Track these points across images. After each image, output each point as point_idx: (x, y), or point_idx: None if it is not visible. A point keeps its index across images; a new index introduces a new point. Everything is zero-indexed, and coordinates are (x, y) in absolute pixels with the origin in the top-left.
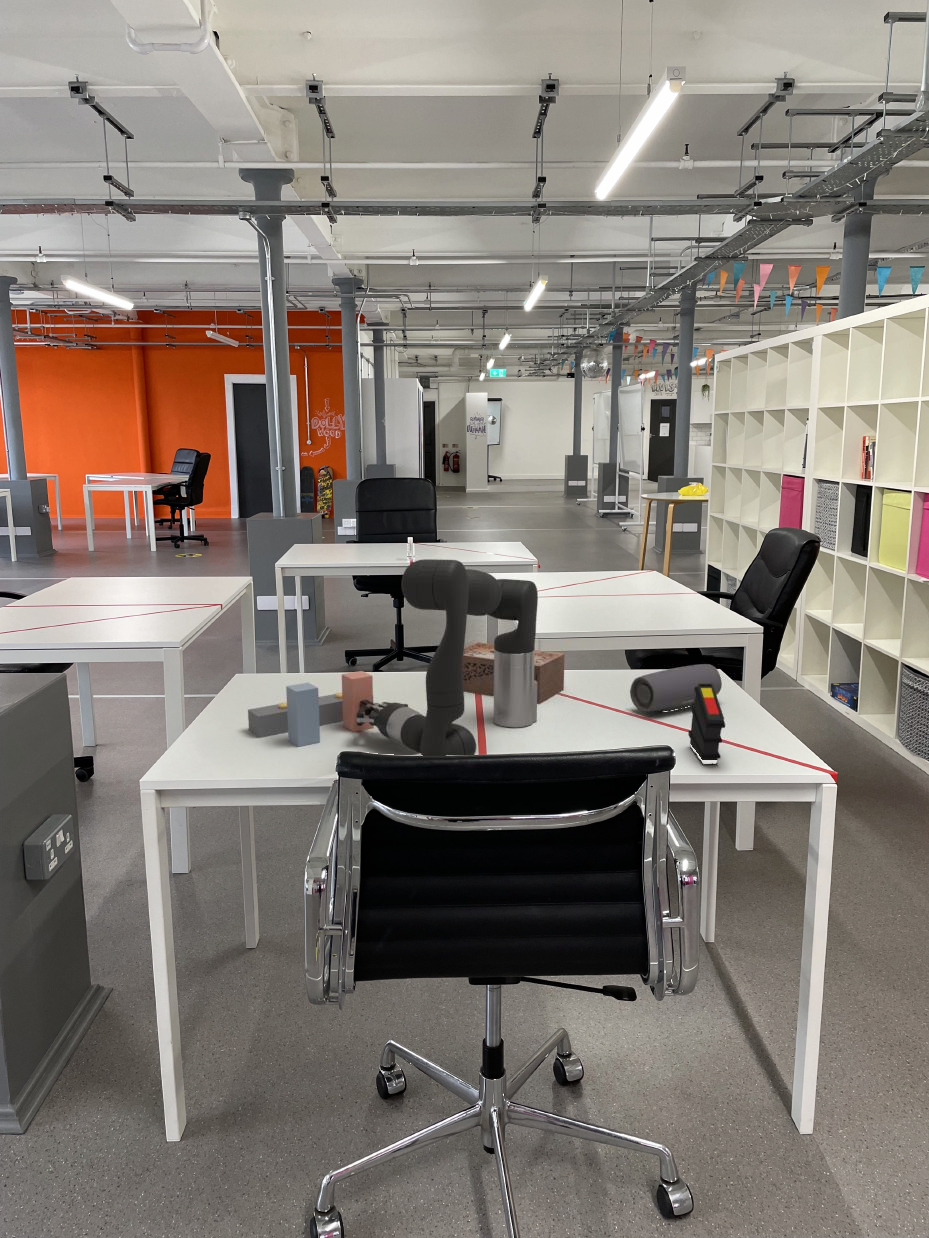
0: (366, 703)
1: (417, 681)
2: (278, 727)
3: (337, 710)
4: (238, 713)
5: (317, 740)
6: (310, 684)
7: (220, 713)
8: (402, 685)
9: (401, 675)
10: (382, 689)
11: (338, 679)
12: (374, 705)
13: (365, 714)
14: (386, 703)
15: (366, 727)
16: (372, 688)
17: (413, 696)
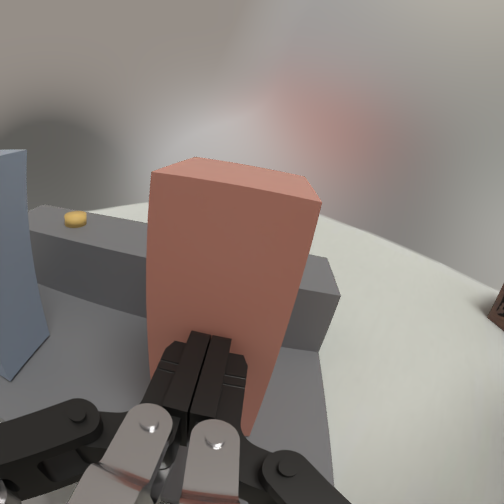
0: (170, 384)
1: (441, 278)
2: (37, 267)
3: None
4: (137, 217)
5: (1, 371)
6: (1, 155)
7: (125, 209)
8: (420, 276)
9: (421, 259)
10: (389, 270)
11: (339, 230)
12: (112, 495)
13: (89, 460)
14: (291, 489)
15: None
16: (296, 290)
17: (434, 310)
